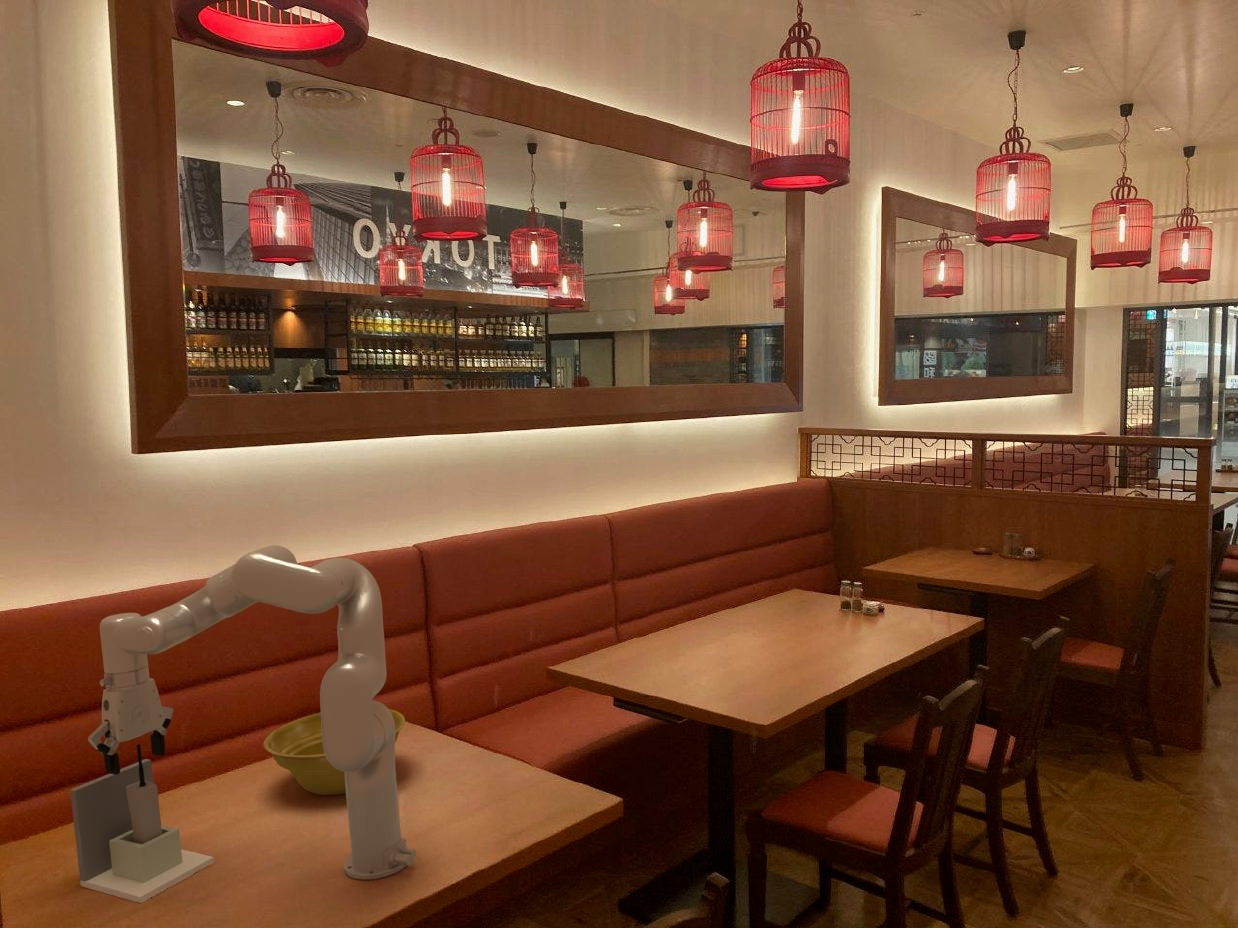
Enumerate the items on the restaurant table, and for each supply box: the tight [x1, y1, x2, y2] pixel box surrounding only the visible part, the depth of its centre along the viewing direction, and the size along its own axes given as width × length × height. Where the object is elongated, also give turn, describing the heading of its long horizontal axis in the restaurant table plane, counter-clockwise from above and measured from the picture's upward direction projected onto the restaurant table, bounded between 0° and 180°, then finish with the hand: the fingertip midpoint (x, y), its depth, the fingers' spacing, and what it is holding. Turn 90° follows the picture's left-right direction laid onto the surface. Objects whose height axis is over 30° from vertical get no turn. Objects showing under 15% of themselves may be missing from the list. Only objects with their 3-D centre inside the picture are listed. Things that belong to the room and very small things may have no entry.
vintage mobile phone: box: [126, 743, 162, 844], centre depth 182 cm, size 4×5×25 cm
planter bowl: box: [263, 708, 406, 796], centre depth 222 cm, size 32×32×13 cm
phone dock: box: [69, 758, 215, 904], centre depth 182 cm, size 18×16×19 cm
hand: (136, 763), depth 182 cm, fingers open, 9 cm apart
